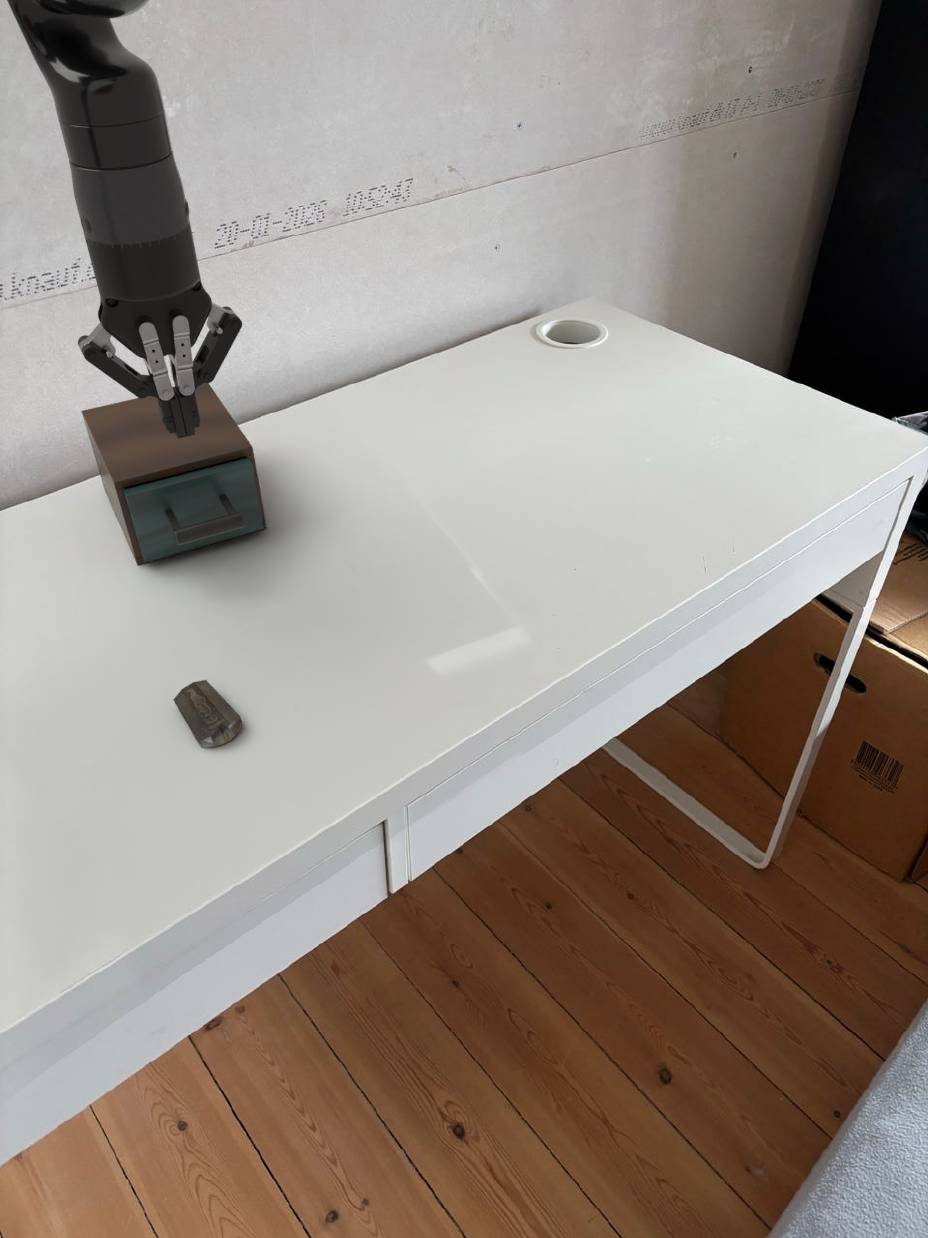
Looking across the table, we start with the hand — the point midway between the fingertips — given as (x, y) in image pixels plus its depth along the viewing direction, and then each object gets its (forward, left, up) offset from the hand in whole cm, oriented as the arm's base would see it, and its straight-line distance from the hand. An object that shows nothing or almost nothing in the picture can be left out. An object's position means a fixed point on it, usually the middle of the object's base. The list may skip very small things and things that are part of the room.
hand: (183, 432), depth 82 cm
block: (-6, -20, -14) cm, 25 cm away
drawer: (0, +6, -13) cm, 14 cm away
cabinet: (0, +10, -14) cm, 17 cm away
